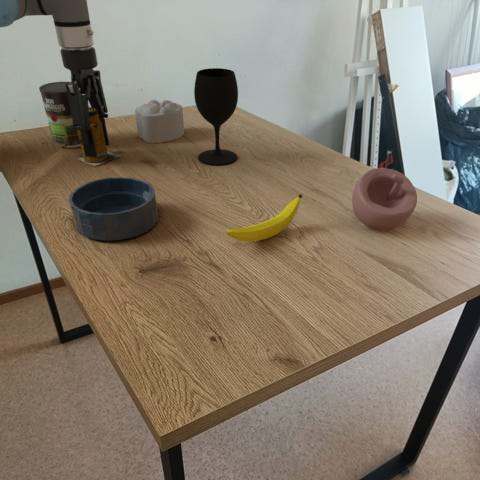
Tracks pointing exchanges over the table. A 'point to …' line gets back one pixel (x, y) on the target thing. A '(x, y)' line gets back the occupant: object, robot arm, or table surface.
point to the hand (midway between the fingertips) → (97, 150)
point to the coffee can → (59, 114)
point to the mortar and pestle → (383, 199)
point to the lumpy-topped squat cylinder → (159, 121)
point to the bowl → (114, 208)
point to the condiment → (96, 141)
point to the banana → (267, 225)
